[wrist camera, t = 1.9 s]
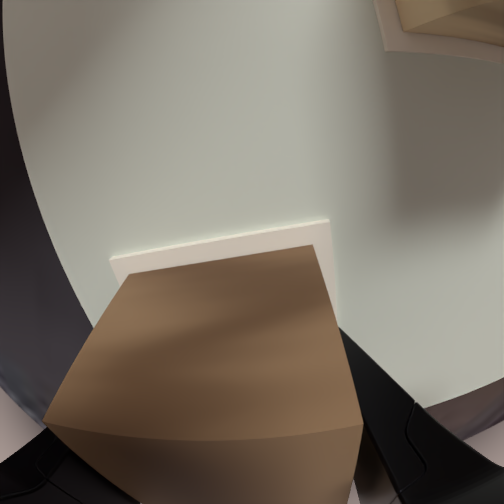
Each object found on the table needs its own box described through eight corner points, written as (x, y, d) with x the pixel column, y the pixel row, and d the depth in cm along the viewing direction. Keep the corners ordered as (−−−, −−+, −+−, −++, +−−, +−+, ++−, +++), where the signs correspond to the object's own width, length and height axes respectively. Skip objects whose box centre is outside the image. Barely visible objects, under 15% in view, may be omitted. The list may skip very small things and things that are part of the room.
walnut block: (312, 244, 8) (363, 423, 3) (324, 375, 10) (345, 511, 5) (128, 274, 8) (42, 421, 4) (184, 389, 10) (158, 513, 6)
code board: (515, -56, 3) (527, -61, 2) (507, 365, 11) (513, 376, 11) (13, -9, 5) (-2, -12, 4) (172, 430, 13) (169, 443, 13)
